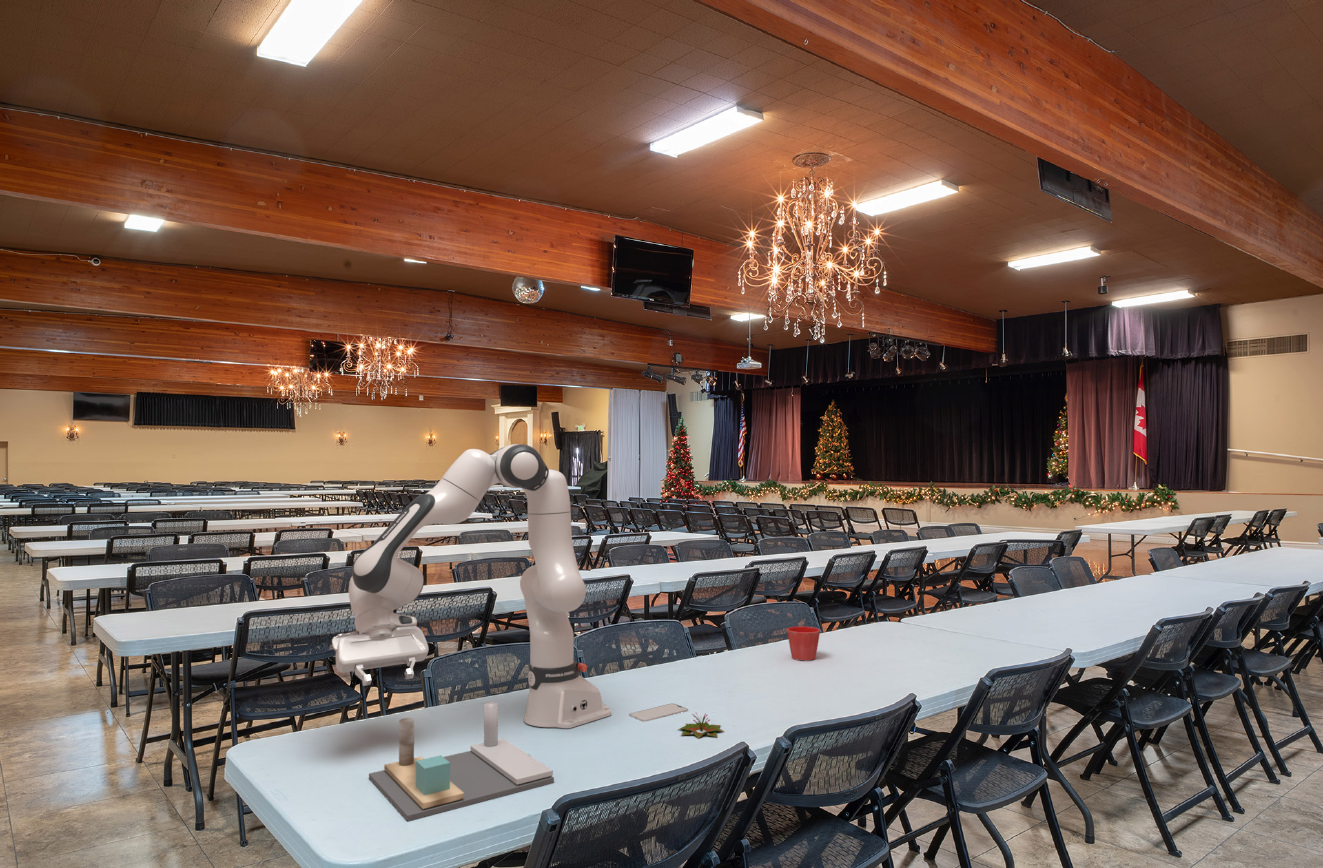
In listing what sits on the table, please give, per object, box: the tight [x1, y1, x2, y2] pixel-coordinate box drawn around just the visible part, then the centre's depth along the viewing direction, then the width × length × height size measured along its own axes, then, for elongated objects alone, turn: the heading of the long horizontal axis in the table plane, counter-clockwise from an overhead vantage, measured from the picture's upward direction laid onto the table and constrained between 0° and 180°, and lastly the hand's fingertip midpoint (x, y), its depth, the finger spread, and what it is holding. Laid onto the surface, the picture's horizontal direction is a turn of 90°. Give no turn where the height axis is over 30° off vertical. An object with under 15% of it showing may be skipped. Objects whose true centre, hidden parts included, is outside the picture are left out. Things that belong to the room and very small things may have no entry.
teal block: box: [416, 755, 450, 795], centre depth 155 cm, size 5×5×5 cm
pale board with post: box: [470, 701, 554, 785], centre depth 171 cm, size 8×24×10 cm, turn 36°
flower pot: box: [786, 626, 821, 662], centre depth 267 cm, size 11×11×10 cm
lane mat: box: [368, 750, 555, 822], centre depth 165 cm, size 30×25×1 cm
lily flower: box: [677, 712, 726, 739], centre depth 194 cm, size 12×12×5 cm
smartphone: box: [628, 703, 689, 722], centre depth 209 cm, size 7×1×15 cm
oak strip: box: [383, 717, 464, 809], centre depth 160 cm, size 8×24×10 cm, turn 35°
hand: (389, 680), depth 179 cm, fingers open, 8 cm apart
